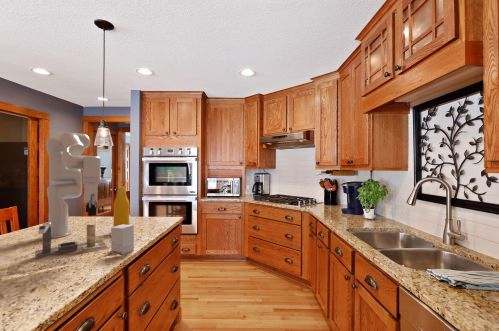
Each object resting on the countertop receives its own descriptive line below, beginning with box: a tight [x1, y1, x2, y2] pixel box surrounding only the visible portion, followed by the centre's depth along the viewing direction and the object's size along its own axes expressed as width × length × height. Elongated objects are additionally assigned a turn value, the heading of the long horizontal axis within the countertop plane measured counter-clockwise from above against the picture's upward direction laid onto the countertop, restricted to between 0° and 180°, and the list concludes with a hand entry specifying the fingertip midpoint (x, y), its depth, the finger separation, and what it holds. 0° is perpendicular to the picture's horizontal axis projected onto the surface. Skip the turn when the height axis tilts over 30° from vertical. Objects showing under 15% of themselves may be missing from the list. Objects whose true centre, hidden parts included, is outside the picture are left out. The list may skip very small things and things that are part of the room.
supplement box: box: [110, 224, 135, 255], centre depth 122 cm, size 7×7×13 cm
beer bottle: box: [113, 186, 130, 227], centre depth 161 cm, size 9×9×29 cm
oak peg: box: [86, 223, 96, 247], centre depth 125 cm, size 4×4×11 cm
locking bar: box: [38, 221, 51, 235], centre depth 109 cm, size 16×3×3 cm, turn 33°
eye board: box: [34, 227, 110, 263], centre depth 121 cm, size 20×28×14 cm
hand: (90, 213), depth 126 cm, fingers open, 9 cm apart
